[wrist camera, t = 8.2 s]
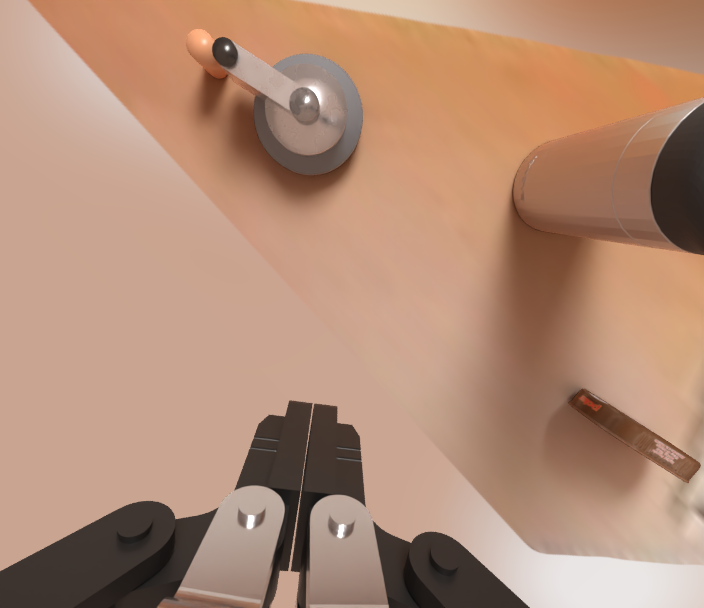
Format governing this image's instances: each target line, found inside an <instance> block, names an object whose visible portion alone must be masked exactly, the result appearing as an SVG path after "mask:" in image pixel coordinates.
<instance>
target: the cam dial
mask: <svg viewBox="0 0 704 608" xmlns="http://www.w3.org/2000/svg"><path fill="white" fill-rule="evenodd" d="M212 53H213V56H214V58H215V60H216V61H217V62H218V63H219V64H220V65H221V68H222V69H223V70H224V71H225V72H226V73H227V74H228V75H229V77H230V78H231V79H232V80H233V81H234V82H235V83H236V84H238V85H239V86H241V87H242V88H244V89H246V90H247V91H249V92H250V93H252V94H253V95H255V96H257V97H258V98H260V99H261V100H263V101H265V113H266V119H267V122H268V125H269V128H270V130H271V132H272V133H273V135H274V136H275V138H276V139H277V140H278V141H279V142H280V143H281V144H282V145H283V146H284V147H285V148H286V149H288V150H289V151H291V152H293V153H295V154H297V155H300V156H305V157H314V156H319V155H322V154H324V153H326V152H328V151H329V150H331V149H332V148H333V147H334V146H335V145H336V144H337V143H338V142H339V140H340V139H341V137H342V135H343V133H344V130H345V126H346V120H347V103H346V98H345V95H344V92H343V90H342V87H341V86H340V84H339V82H338V81H337V80H336V78H335V77H334V76H333V75H332V74H331V73H329V72H328V71H327V70H325V69H323V68H322V67H319V66H317V65H313V64H307V63H301V64H295V65H292V66H289V67H287V68H286V69H284V70H283V71H281V72H279V71H277V70H276V69H274V68H273V67H271V66H269V65H268V64H266V63H265V62H263V61H262V60H260V59H259V58H257V57H256V56H254V55H253V54H251V53H250V52H248V51H247V50H245V49H243V48H242V47H240V46H239V45H237V44H236V43H234V42H233V41H231V40H230V39H228V38H225V37H221V38H218V39H216V40H215V41H214V43H213V46H212Z"/></svg>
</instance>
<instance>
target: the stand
mask: <svg viewBox="0 0 704 608" xmlns="http://www.w3.org/2000/svg"><path fill="white" fill-rule="evenodd" d="M213 43H214V40H213V39H212V37H211V36H210V35H209V34H208V33H207V32H206V31H204V30H201V29H196V30H193V31H191V32H190V33H189V35H188V37H187V40H186V46H187V49H188V52H189V53H190V55H191V56H192V57H193V58H194V59H195V60H196V61H197V62H198V63H199V64H200V65H201V66H202V67H203V68H204V69H205V70H206V71H207V72H208V73H209V74H210V75H211V76H213V77H214V78H218V79H221V78H224V77H226V76H227V75H228V74H227V73H226V72H225V71H224V70H223V69H222V68H221V65H220V64H219V63H218V62H217V61H216V60H215V58H214V56H213V53H212V46H213ZM301 63H307V64H313V65H317V66H319V67H322V68H323V69H325V70H327V71H328V72H329V73H331V74H332V75H333V76H334V77H335V78H336V80H337V81H338V82H339V84H340V86H341V87H342V90H343V92H344V95H345V98H346V103H347V120H346V126H345V130H344V133H343V135H342V137H341V139H340V140H339V142H338V143H337V144H336V145H335V146H334V147H333V148H332V149H331V150H329V151H328V152H326V153H324V154H322V155H319V156H314V157H305V156H300V155H297V154H295V153H293V152H291V151H289V150H288V149H286V148H285V147H284V146H283V145H282V144H281V143H280V142H279V141H278V140H277V139H276V138H275V136H274V135H273V133H272V132H271V130H270V128H269V125H268V122H267V119H266V113H265V101H263V100H261V99H260V98H258V97H257V96H255V101H254V123H255V127H256V131H257V134H258V137H259V139H260V141H261V143H262V145H263V146H264V148H265V149H266V151H267V152H268V153H269V155H270V156H271V157H272V158H273V159H274V160H275V161H276V162H278V163H279V164H281V165H282V166H283V167H285V168H287V169H289V170H291V171H293V172H295V173H298V174H302V175H310V176H312V175H321V174H325V173H328V172H331V171H333V170H335V169H336V168H338V167H339V166H341V165H342V164H343V163H344V162H345V161H346V160H347V159H348V158H349V157H350V156H351V154H352V153H353V151H354V149H355V147H356V145H357V143H358V140H359V137H360V134H361V129H362V122H363V110H362V103H361V99H360V96H359V93H358V91H357V88H356V86H355V84H354V83H353V81H352V79H351V78H350V77H349V75H348V74H347V73H346V72H345V71H344V70H343V69H342V68H341V67H340V66H339V65H337V64H336V63H334V62H333V61H331V60H329V59H327V58H325V57H322V56H318V55H313V54H299V55H293V56H290V57H288V58H285V59H283V60H281V61H280V62H278V63H277V64H276V65H274V66H273V68H274V69H276V70H277V71H279V72H281V71H283V70H284V69H286V68H287V67H289V66H292V65H295V64H301Z"/></svg>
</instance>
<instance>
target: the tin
mask: <svg viewBox="0 0 704 608" xmlns="http://www.w3.org/2000/svg"><path fill="white" fill-rule="evenodd" d="M569 404H570V405H571V406H572V407H573V408H574V409H576V410H577V411H578V412H580V413H581V414H582V415H584V416H585V417H586V418H588V419H589V420H591V421H592V422H594V423H595V424H596V425H598V426H599V427H601V428H602V429H603V430H605V431H606V432H608V433H609V434H611V435H612V436H614V437H615V438H617V439H618V440H620V441H621V442H623V443H625V444H626V445H627V446H629V447H631V448H632V449H634V450H635V451H637V452H638V453H640V454H642V455H643V456H645V457H646V458H648V459H649V460H651V461H653V462H654V463H656V464H657V465H659V466H661V467H662V468H664V469H665V470H667V471H668V472H670V473H672V474H673V475H675V476H676V477H678V478H679V479H681V480H683V481H684V482H686V483H689V480H690V479H691V478H692V476H693V475H694V474H695V473H696V472H697V471H698V470H699V468H700V466H701V465H700V463H699V462H698V461H696V460H695V459H693V458H692V457H690V456H689V455H687V454H686V453H684V452H683V451H681V450H680V449H678V448H677V447H675V446H674V445H672V444H671V443H669V442H668V441H666V440H665V439H663V438H662V437H660V436H658V435H657V434H655V433H654V432H652V431H650V430H649V429H647V428H646V427H644V426H642V425H641V424H639V423H638V422H636V421H635V420H633V419H631V418H630V417H628V416H627V415H625V414H624V413H622V412H620V411H619V410H617V409H616V408H614V407H613V406H611V405H610V404H608V403H607V402H605V401H603V400H602V399H600V398H599V397H597V396H595V395H594V394H592V393H591V392H589V391H587V390H586V389H581V390H580V391H579V392H578V394H577V395H576V396H575V397H574V398H573V400H572V401H571V402H569Z"/></svg>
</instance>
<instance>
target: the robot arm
mask: <svg viewBox="0 0 704 608" xmlns="http://www.w3.org/2000/svg"><path fill="white" fill-rule="evenodd" d="M513 197H514V203H515V207H516V209H517V211H518V213H519V215H520V217H521V218H522V219H523V220H524V222H525V223H527V224H528V225H529V226H531V227H532V228H535V229H537V230H540V231H545V232H551V233H558V234H564V235H569V236H576V237H583V238H590V239H596V240H603V241H610V242H617V243H623V244H630V245H637V246H644V247H650V248H659V249H666V250H672V251H679V252H686V253H693V254H700V255H704V97H703V98H699V99H696V100H692V101H689V102H685V103H682V104H679V105H676V106H672V107H669V108H665V109H662V110H658V111H655V112H651V113H648V114H644V115H641V116H637V117H634V118H630V119H627V120H623V121H620V122H616V123H612V124H609V125H605V126H602V127H598V128H595V129H591V130H588V131H584V132H581V133H577V134H573V135H570V136H567V137H563V138H560V139H556V140H553V141H549V142H547V143H545V144H543V145H541V146H539V147H538V148H536V149H535V150H534V151H533V152H531V153H530V154H529V156H528V157H527V158H526V159H525V160H524V161H523V163H522V165H521V166H520V168H519V170H518V173H517V175H516V178H515V182H514V188H513ZM311 409H312V403H305V402H297V401H289V404H288V408H287V412H286V416H285V417H283V416H275V415H269V416H267V417H266V418H265V419H264V420H263V421H262V422H261V423H259V425H258V428H257V430H256V433H255V436H254V439H253V441H252V444H251V447H250V449H249V452H248V455H247V458H246V460H245V463H244V466H243V469H242V472H241V474H240V477H239V480H238V482H237V485H236V488H235V490H234V491H233V492H232V493H230V494H229V495H228V496H226V498H225V499H224V500H223V501H222V503H221V504H220V506H219V507H218V508H217V509H215V510H213V511H211V512H209V513H205V514H202V515H198V516H192V517H188V518H187V517H186V518H181V519H175V516H174V513H173V512H172V510H171V509H170V508H169V507H168V506H166V505H164V504H162V503H159V502H153V501H142V502H137V503H132V504H129V505H126V506H124V507H122V508H120V509H118V510H116V511H114V512H112V513H110V514H108V515H106V516H104V517H102V518H101V519H99V520H97V521H95V522H93V523H91V524H89V525H87V526H85V527H83V528H82V529H80V530H78V531H76V532H74V533H72V534H70V535H68V536H67V537H65V538H63V539H61V540H59V541H57V542H55V543H53V544H51V545H50V546H47V547H46V548H44V549H42V550H40V551H38V552H36V553H34V554H32V555H30V556H28V557H27V558H25V559H23V560H21V561H19V562H17V563H15V564H13V565H11V566H9V567H8V568H6V569H4V570H2V571H0V608H271V604H272V601H273V599H274V597H275V594H276V590H277V584H278V578H279V571H280V570H281V571H288V568H289V562H290V555H291V549H292V542H293V536H294V530H295V522H296V517H297V510H298V504H299V497H300V491H301V483H302V476H303V469H304V462H305V454H306V446H307V440H308V432H309V424H310V417H311ZM360 449H361V448H360V437H359V435H358V433H357V432H356V430H355V429H354V427H353V426H352V425H348V424H340V423H337V406H330V405H322V404H314V409H313V416H312V423H311V429H310V435H309V442H308V448H307V455H306V462H305V469H304V476H303V484H302V491H301V499H300V507H299V515H298V522H297V529H296V537H295V545H294V552H293V560H292V567H291V571H294V572H300V575H299V584H298V592H297V599H296V605H295V608H530V607H528V606H527V605H526V604H525V603H524V602H523V601H522V600H521V599H520V598H519V597H517V595H515V594H514V593H513V592H512V591H511V590H510V589H509V588H508V587H507V586H506V585H505V584H503V583H502V582H501V581H500V580H499V579H498V578H497V577H496V576H495V575H494V574H493V573H492V572H490V571H489V570H488V569H487V568H486V567H485V566H484V565H483V564H482V563H481V562H480V561H478V560H477V559H476V558H475V557H474V556H473V555H472V554H471V553H470V552H469V551H468V550H467V549H466V548H464V547H463V546H462V545H461V544H460V543H459V542H457V541H456V540H454V539H453V538H451V537H449V536H447V535H445V534H442V533H437V532H425V533H422V534H420V535H418V536H416V537H415V538H414V539H413V541H412V543H410V542H407V541H405V540H402V539H400V538H398V537H395V536H393V535H391V534H389V533H387V532H385V531H384V530H382V529H381V528H380V527H379V526H377V525H376V524H375V522H374V521H373V520H372V517H371V515H370V512H369V511H368V510H367V509H366V506H365V496H364V484H363V473H362V462H361V451H360Z"/></svg>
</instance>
